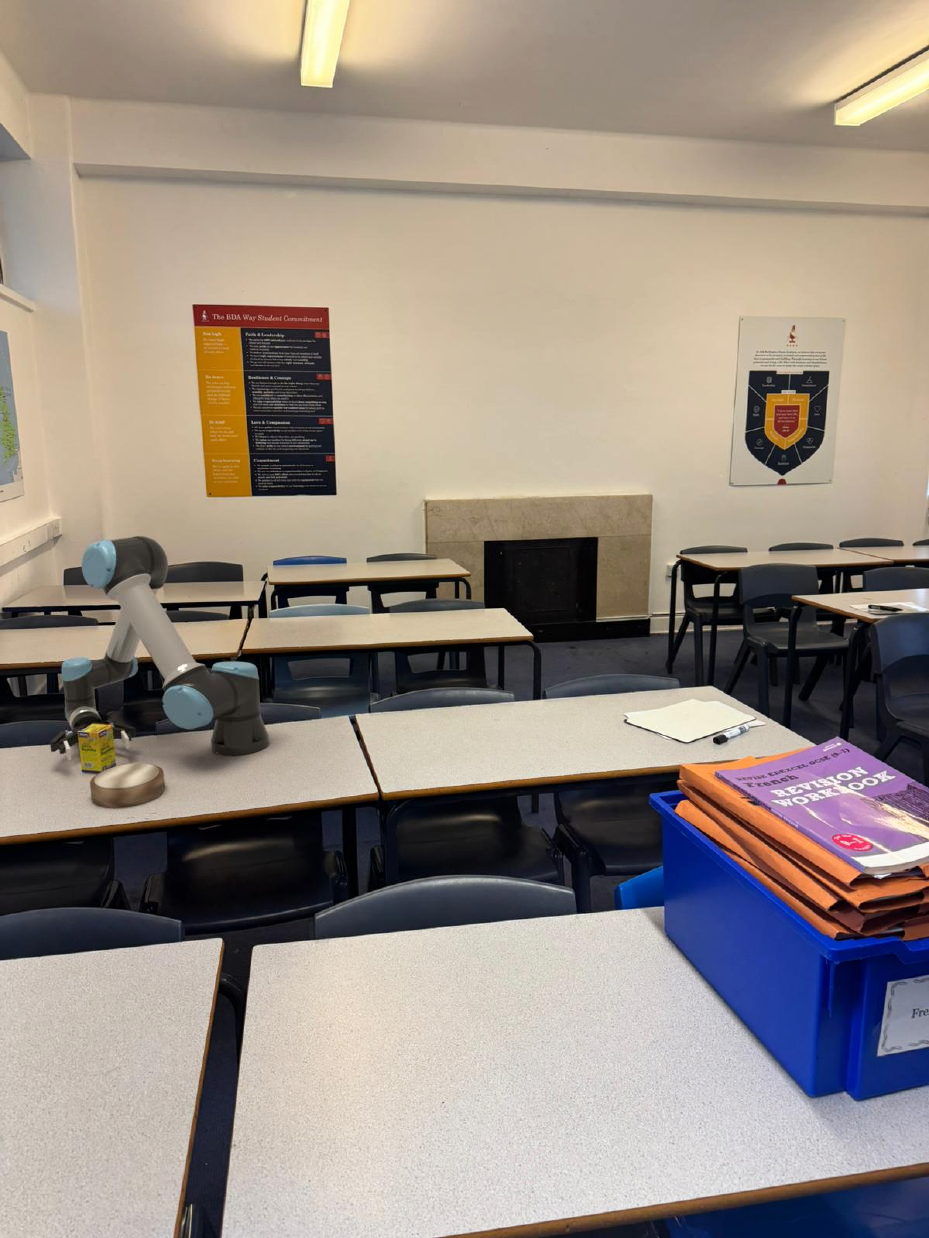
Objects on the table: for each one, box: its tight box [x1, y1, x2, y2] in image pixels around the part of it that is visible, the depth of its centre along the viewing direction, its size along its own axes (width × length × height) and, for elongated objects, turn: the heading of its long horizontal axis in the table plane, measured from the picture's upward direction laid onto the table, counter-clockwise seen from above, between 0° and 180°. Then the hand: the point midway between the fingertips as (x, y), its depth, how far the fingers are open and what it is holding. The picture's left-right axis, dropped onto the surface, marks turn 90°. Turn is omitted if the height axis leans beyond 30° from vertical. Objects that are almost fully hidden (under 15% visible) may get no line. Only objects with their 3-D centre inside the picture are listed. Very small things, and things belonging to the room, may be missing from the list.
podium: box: [89, 763, 166, 809], centre depth 190 cm, size 16×16×4 cm
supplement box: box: [78, 724, 117, 774], centre depth 204 cm, size 6×6×11 cm
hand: (98, 748), depth 201 cm, fingers open, 13 cm apart
